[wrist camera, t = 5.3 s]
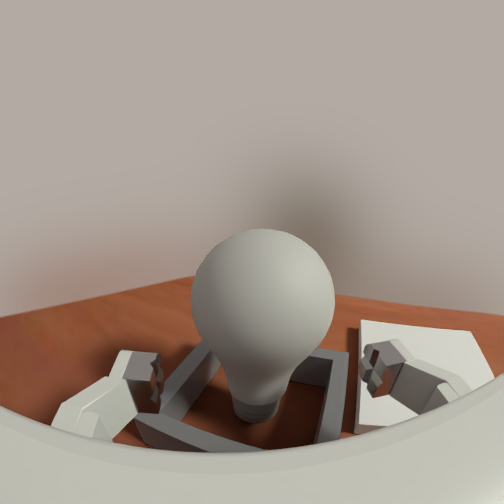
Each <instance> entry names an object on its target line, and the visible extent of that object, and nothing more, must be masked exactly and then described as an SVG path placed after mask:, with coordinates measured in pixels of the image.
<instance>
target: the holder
mask: <svg viewBox="0 0 504 504" xmlns="http://www.w3.org/2000/svg"><path fill="white" fill-rule="evenodd" d="M348 360H349V353H348V352H341V351H334V350H328V349H322V348H315V349H314V350H313V352H312V353H311V354H310V355H309V356H308V357H307V358H306V359H305V360H304V361H302V362H301V363H300V364H299V365H298V366H297V367H296V368H295V370H294V371H293V372H292V374H291V376H290V379H289V380H290V381H295V382H300V383H306V384H311V385H317V386H323V387H325V392H324V397H323V402H322V407H321V412H320V416H319V421H318V425H317V430H316V434H315V438H314V442H313V444H319V443H324V442H329V441H334V440H339V439H340V433H341V426H342V419H343V411H344V403H345V394H346V384H347V373H348ZM221 365H222V364H221V362H220V361H219V360H218V358H217V357H216V356H215V355H214V354H213V353H212V351H211V350H210V349H209V348H208V346H207V345H206V343H205V342H204V340H203V339H202V340H201V341H200V343H199V344H198V345H197V346H196V347H195V348H194V349H193V350H192V352H191V353H190V354H189V355H188V356H187V357H186V358H185V359H184V361H183V362H182V363H181V364H180V365H179V366H178V367H177V368H176V369H175V371H174V372H173V373H172V374H171V375H170V376H169V377H168V378H167V379H166V381H165V382H164V391H163V393H162V394H161V395H160V398H161V407H160V412H159V414H149V413H138V412H137V413H138V414H137V415H136V416H135V417H134V418H133V420H134V422H135V424H136V426H137V429H138V431H139V433H140V435H141V437H142V440H143V442H144V443H146V444H148V445H150V446H152V447H154V448H156V449H159V450H170V451H183V452H209V453H226V452H252V451H266V450H264V449H260V448H256V447H253V446H249V445H246V444H242V443H239V442H235V441H232V440H229V439H226V438H223V437H220V436H217V435H214V434H211V433H208V432H206V431H203V430H200V429H198V428H195V427H192V426H190V425H187V424H185V423H182V422H180V421H181V420H182V419H183V417H184V416H185V415H186V413H187V412H188V411H189V409H190V408H191V407H192V405H193V404H194V402H195V401H196V400H197V398H198V397H199V396H200V394H201V393H202V391H203V390H204V389H205V387H206V386H207V384H208V383H209V382H210V380H211V379H212V377H213V376H214V375H215V373H216V372H217V370H218V369H219V367H220V366H221Z"/></svg>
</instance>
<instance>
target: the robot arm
mask: <svg viewBox="0 0 504 504" xmlns="http://www.w3.org/2000/svg"><path fill="white" fill-rule="evenodd" d="M363 353H364V355H365V356H364V357H363V358H362V359H361V360H360V363H359V366H358V367H359V375H360V378H361V380H362V381H363V382H365V383H367V387H366V388H367V390H368V392H369V393H370V395H371V397H372V398H376V397H381V396H385V395H389V394H390V395H389V396H391V397H392V398H394V399H395V400H397V401H398V402H400V403H401V404H403V405H404V406H406V407H407V408H409V409H410V410H412V411H413V412H415V413H416V414H418V415H419V416H416V417H413V418H411V419H408V420H405V421H402V422H399V423H396V424H393V425H390V426H387V427H384V428H381V429H377V430H374V431H371V432H367V433H363V434H360V435H356V436H352V437H348V438H343V439H339V440H334V441H329V442H324V443H319V444H313V445H307V446H300V447H293V448H285V449H277V450H266V451H252V452H226V453H209V452H183V451H170V450H159V449H150V448H143V447H136V446H129V445H123V444H118V443H113V441H112V438H113V437H115V436H116V435H117V434H118V433H119V432H120V431H121V430H122V429H123V428H124V427H125V426H126V425H127V424H128V423H129V422H130V421H131V420H132V419H133V418H134V417H135V416H136V415H137V414H138V413H149V414H159V412H160V407H161V398H160V395H161V394H162V393H163V391H164V374H163V370H162V369H161V368H160V364H161V359H160V355H159V354H158V353H149V352H138V351H127V350H121V351H120V352H119V354H118V356H117V358H116V360H115V363H114V365H113V367H112V370H111V372H110V374H109V377H103V378H102V379H100V380H99V381H97V382H96V383H94V384H92V385H91V386H89V387H88V388H86V389H84V390H83V391H81V392H79V393H78V394H76V395H75V396H73V397H71V398H70V399H68V400H67V401H65V402H63V403H62V404H61V405H60V407H59V409H58V412H57V414H56V416H55V418H54V420H53V422H52V424H51V426H49V425H46V424H43V423H40V422H38V421H35V420H32V419H30V418H27V417H25V416H22V415H20V414H17V413H15V412H13V411H11V410H8V409H6V408H4V407H2V406H0V504H504V373H502V374H501V375H499V376H498V377H496V378H494V379H493V380H491V381H489V382H488V383H486V384H484V385H482V386H481V387H479V388H477V389H475V390H472V389H471V388H470V387H469V386H468V384H467V383H466V382H465V381H464V380H463V379H462V378H461V377H460V376H459V375H457V374H454V373H452V372H449V371H447V370H444V369H442V368H440V367H437V366H435V365H432V364H430V363H428V362H425V361H423V360H420V359H415V358H414V356H413V355H412V354H411V353H410V352H409V351H408V350H407V348H406V347H405V346H404V345H403V344H402V343H401V342H400V341H399V340H398V339H392V340H387V341H383V342H377V343H371V344H367V345H366V346H365V347H364V350H363ZM137 412H138V413H137Z"/></svg>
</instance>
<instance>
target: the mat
mask: <svg viewBox="0 0 504 504" xmlns="http://www.w3.org/2000/svg"><path fill="white" fill-rule="evenodd" d="M392 339H398V340H399V341H400V342H401V343H402V344H403V345H404V346H405V347H406V348H407V350H408V351H409V352H410V353H411V354H412V355H413V356H414V358H415V359H420V360H423V361H425V362H428V363H430V364H432V365H435V366H437V367H440V368H442V369H444V370H447V371H449V372H452V373H454V374H457V375H459V376H460V377H461V378H462V379H463V380H464V381H465V382H466V383H467V384H468V386H469V387H470V388H471V389H472V390H475V389H477V388H479V387H481V386H482V385H484V384H486V383H488V382H489V381H491V380H493V379H494V375H493V373H492V371H491V369H490V367H489V365H488V363H487V361H486V359H485V357H484V355H483V354H482V352H481V350H480V348H479V346H478V344H477V342H476V341H475V339H474V337H473V335H472V334H471V332H470V331H459V330H447V329H436V328H426V327H416V326H407V325H399V324H390V323H382V322H375V321H367V320H361V322H360V326H359V357H358V366H359V363H360V360H361V359H362V358H363V357H364V356H365V355H364V353H363V350H364V347H365V346H366V345H367V344H371V343H377V342H383V341H387V340H392ZM366 387H367V383H365V382H363V381H362V380H361V378H360V375H359V367H358V386H357V402H356V415H355V426H354V434H363V433H367V432H371V431H374V430H377V429H381V428H384V427H387V426H390V425H393V424H396V423H399V422H402V421H405V420H408V419H411V418H413V417H416V416H419V415H418V414H416V413H415V412H413V411H412V410H410V409H409V408H407V407H406V406H404V405H403V404H401V403H400V402H398V401H397V400H395V399H394V398H392V397H391V396H389V395H390V394H389V395H385V396H381V397H376V398H372V397H371V395H370V393H369V392H368V390H367V388H366Z"/></svg>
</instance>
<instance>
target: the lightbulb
mask: <svg viewBox="0 0 504 504" xmlns="http://www.w3.org/2000/svg"><path fill="white" fill-rule="evenodd" d="M334 308H335V297H334V288H333V283H332V279H331V276H330V273H329V271H328V269H327V267H326V265H325V264H324V262H323V261H322V259H321V258H320V257H319V255H318V254H317V252H316V251H315V250H314V249H312V248H311V247H310V246H309V245H307V244H306V243H305V242H304V241H302V240H300V239H298V238H297V237H295V236H293V235H291V234H289V233H286V232H282V231H277V230H272V229H255V230H248V231H243V232H241V233H238V234H236V235H233V236H231V237H229V238H227V239H225V240H224V241H222V242H221V243H219V244H218V245H217V246H215V247H214V248H213V249H212V250H211V252H210V253H209V254H208V255H207V256H206V257H205V259H204V260H203V262H202V263H201V265H200V266H199V268H198V270H197V272H196V275H195V278H194V281H193V285H192V291H191V313H192V316H193V319H194V322H195V325H196V328H197V330H198V333H199V335H200V336H201V338H202V339H203V340H204V342H205V343H206V345H207V346H208V348H209V349H210V350H211V351H212V353H213V354H214V355H215V356H216V357H217V358H218V360H219V361H220V362H221V364H222V366H223V368H224V370H225V374H226V377H227V385H228V389H229V391H230V393H231V394H232V401H233V406H234V412H235V414H236V415H237V416H238V417H239V418H240V419H242V420H243V421H246V422H248V423H256V424H257V423H263V422H267V421H269V420H270V419H272V418H273V417H274V416H275V414H276V412H277V409H278V406H279V402H280V398H281V397H282V396H283V394H284V393H285V391H286V389H287V385H288V381H289V379H290V376H291V374H292V372H293V371H294V370H295V368H296V367H297V366H298V365H299V364H300V363H301V362H302V361H304V360H305V359H306V358H307V357H308V356H309V355H310V354H311V353H312V352H313V350H314V349H315V348H316V347H317V346H318V345H319V344H320V342H321V341H322V340H323V338H324V337H325V335H326V333H327V331H328V329H329V327H330V325H331V321H332V318H333V313H334Z"/></svg>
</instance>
